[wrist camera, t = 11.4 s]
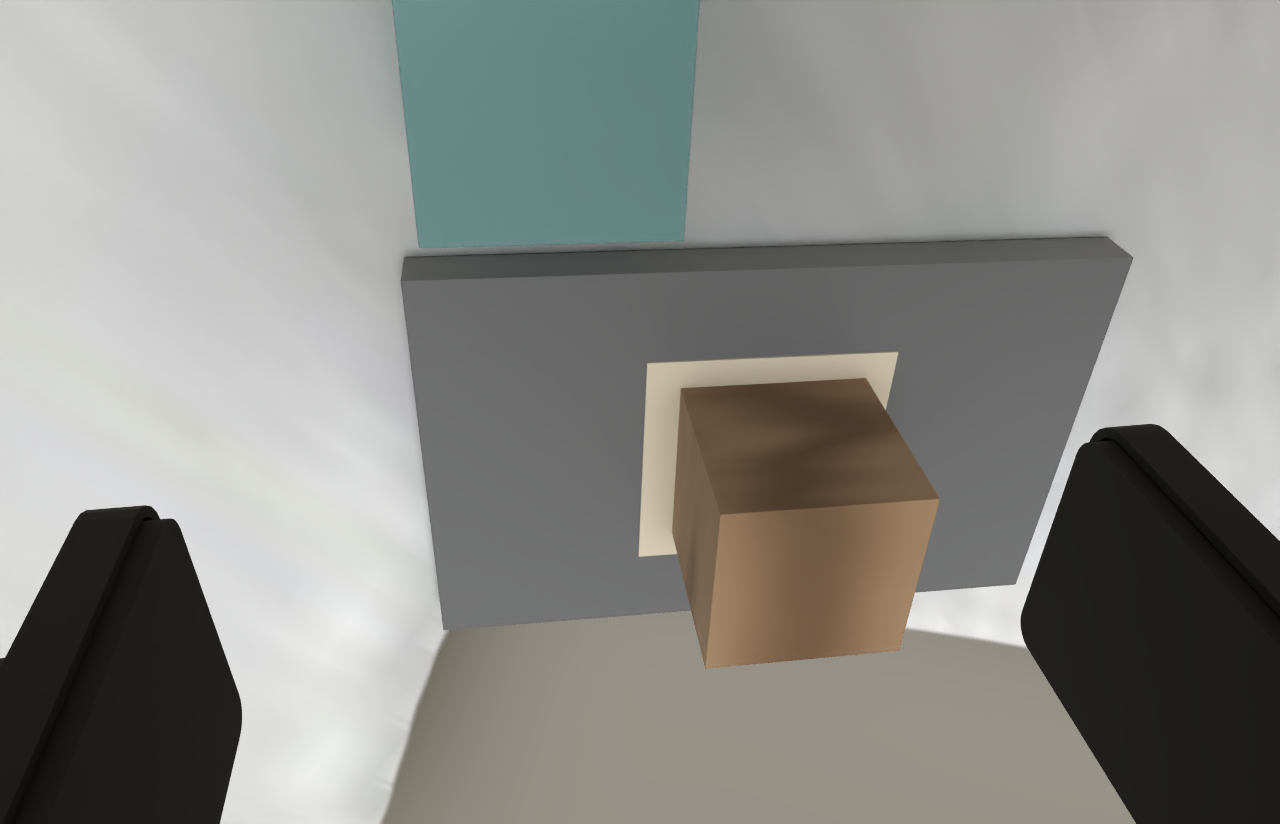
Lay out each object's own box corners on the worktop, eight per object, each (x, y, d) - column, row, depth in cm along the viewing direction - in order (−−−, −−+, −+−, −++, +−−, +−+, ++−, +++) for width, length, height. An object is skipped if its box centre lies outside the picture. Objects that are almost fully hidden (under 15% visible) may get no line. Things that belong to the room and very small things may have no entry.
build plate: (1107, 237, 30) (1134, 258, 29) (998, 557, 38) (1016, 585, 37) (404, 257, 27) (400, 282, 26) (444, 599, 35) (443, 631, 34)
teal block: (656, -88, 23) (702, -44, 19) (646, 150, 27) (684, 241, 22) (406, -92, 23) (387, -48, 18) (430, 154, 26) (419, 248, 21)
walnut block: (865, 378, 30) (940, 498, 25) (838, 519, 34) (899, 650, 29) (680, 388, 30) (720, 514, 25) (671, 532, 33) (705, 668, 28)
